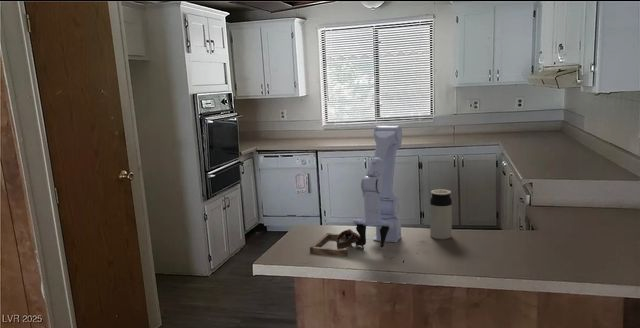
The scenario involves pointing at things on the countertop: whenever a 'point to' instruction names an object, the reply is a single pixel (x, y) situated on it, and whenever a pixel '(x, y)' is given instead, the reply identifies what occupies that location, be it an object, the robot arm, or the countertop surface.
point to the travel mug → (440, 214)
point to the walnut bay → (328, 251)
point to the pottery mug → (349, 239)
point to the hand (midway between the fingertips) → (373, 245)
